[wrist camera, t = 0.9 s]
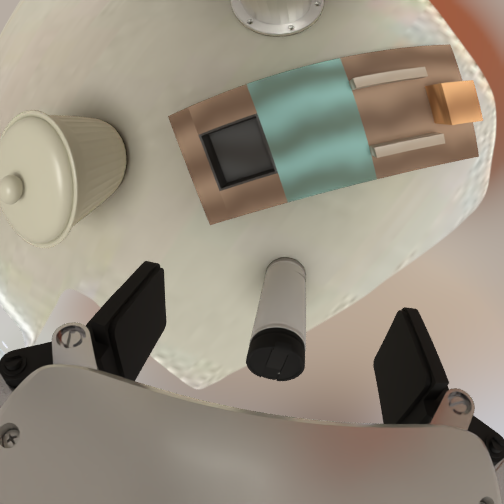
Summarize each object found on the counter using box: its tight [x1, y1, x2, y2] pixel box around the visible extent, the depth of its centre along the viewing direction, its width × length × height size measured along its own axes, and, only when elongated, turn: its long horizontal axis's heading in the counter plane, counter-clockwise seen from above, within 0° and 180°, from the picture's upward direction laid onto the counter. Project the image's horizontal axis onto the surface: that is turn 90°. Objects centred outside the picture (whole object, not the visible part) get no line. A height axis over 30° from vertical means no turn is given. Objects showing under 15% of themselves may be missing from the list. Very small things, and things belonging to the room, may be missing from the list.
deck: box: [168, 45, 479, 225], centre depth 33 cm, size 16×40×7 cm, turn 110°
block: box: [425, 80, 483, 125], centre depth 26 cm, size 5×5×5 cm
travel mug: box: [246, 258, 306, 381], centre depth 38 cm, size 6×7×20 cm
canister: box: [0, 110, 127, 248], centre depth 33 cm, size 18×18×21 cm
